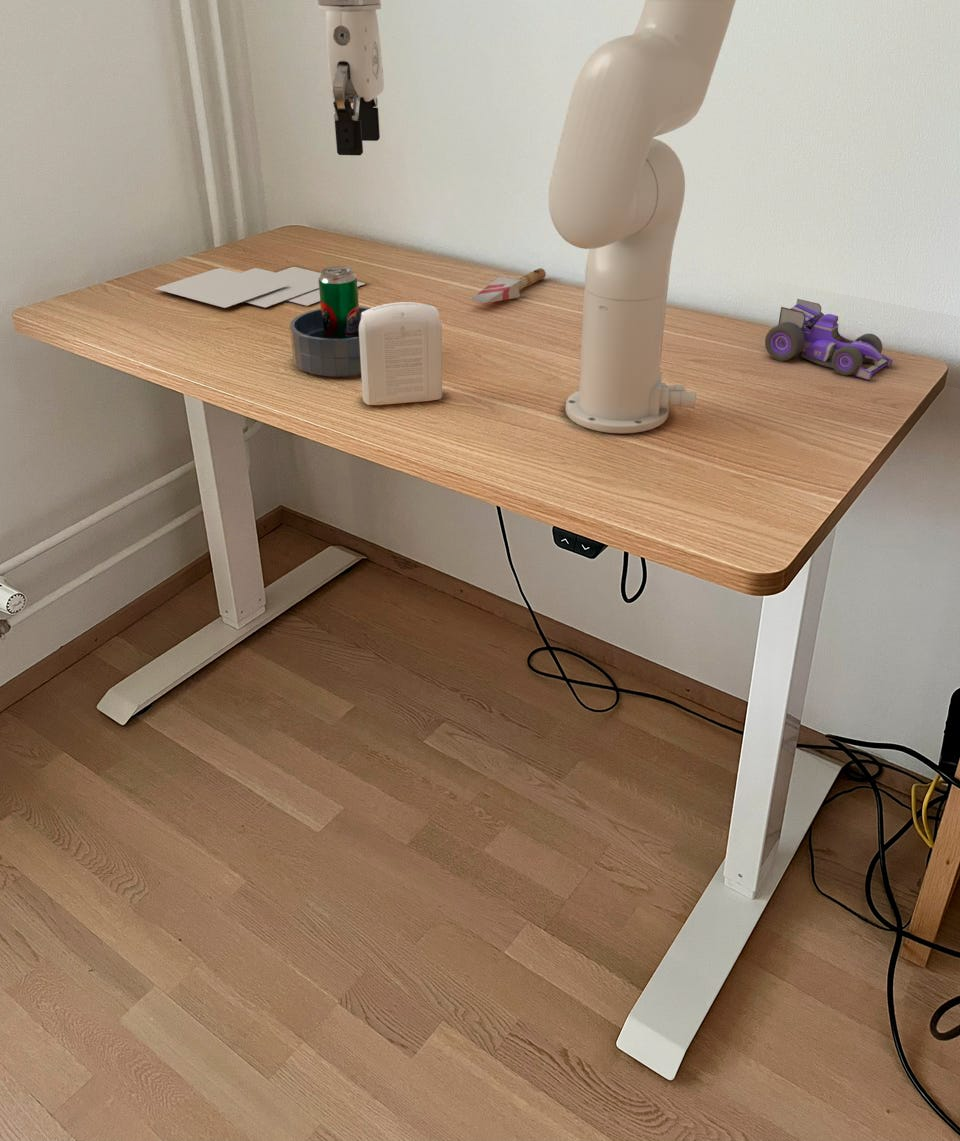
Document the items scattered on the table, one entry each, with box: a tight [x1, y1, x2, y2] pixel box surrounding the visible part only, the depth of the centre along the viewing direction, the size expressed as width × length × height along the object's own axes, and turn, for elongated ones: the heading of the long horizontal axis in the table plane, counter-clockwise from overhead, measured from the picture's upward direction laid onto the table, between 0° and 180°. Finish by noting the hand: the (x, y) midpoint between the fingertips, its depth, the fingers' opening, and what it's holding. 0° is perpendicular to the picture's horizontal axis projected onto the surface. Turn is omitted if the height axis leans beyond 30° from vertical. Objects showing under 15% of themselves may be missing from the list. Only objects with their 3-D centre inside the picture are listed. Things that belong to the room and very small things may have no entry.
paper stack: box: [154, 266, 366, 309], centre depth 167 cm, size 23×25×1 cm
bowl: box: [289, 305, 372, 378], centre depth 139 cm, size 14×14×6 cm
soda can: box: [318, 265, 360, 339], centre depth 137 cm, size 5×5×12 cm
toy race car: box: [764, 298, 894, 381], centre depth 138 cm, size 10×15×6 cm, turn 48°
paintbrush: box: [469, 267, 547, 304], centre depth 164 cm, size 4×3×20 cm
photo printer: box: [359, 301, 443, 406], centre depth 126 cm, size 10×4×12 cm, turn 103°
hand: (359, 147), depth 131 cm, fingers open, 9 cm apart
